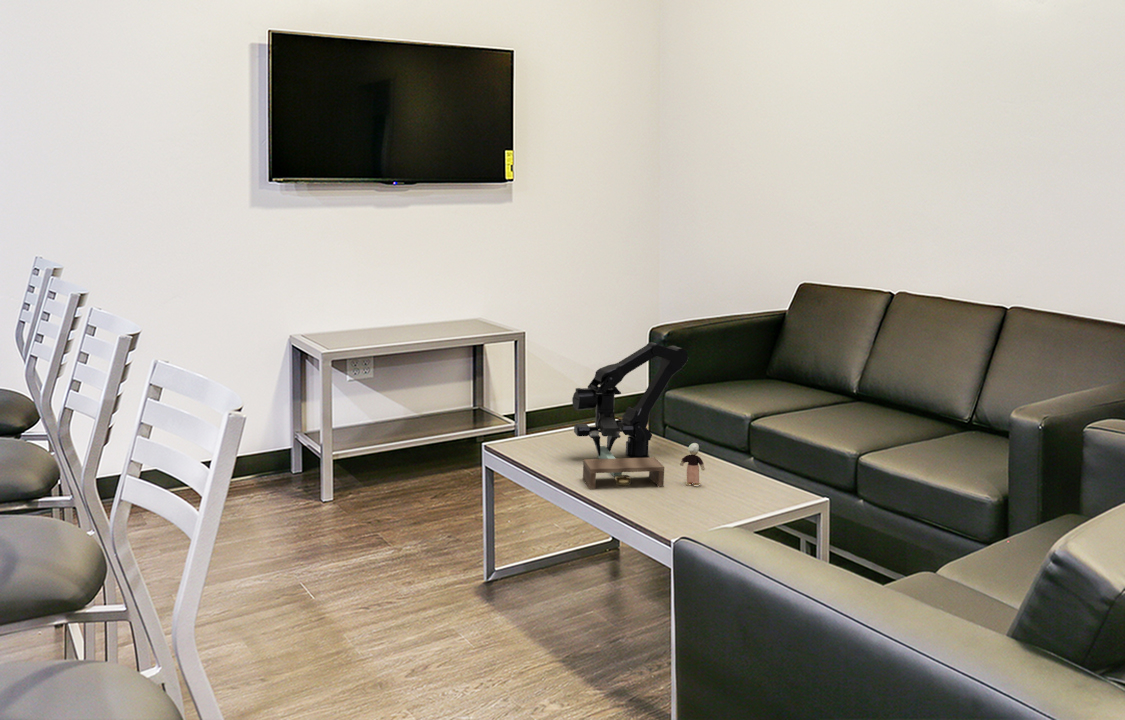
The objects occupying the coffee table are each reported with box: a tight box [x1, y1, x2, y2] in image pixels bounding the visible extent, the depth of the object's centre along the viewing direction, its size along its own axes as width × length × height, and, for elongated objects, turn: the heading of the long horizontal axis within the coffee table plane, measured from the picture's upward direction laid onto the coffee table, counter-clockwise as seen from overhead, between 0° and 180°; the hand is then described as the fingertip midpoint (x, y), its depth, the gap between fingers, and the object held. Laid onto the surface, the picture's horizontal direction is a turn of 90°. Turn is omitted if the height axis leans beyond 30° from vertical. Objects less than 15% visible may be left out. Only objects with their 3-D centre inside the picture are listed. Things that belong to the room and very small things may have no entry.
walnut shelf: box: [582, 456, 665, 490], centre depth 279 cm, size 22×10×6 cm, turn 101°
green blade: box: [597, 445, 623, 478], centre depth 296 cm, size 2×22×4 cm, turn 11°
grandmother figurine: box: [679, 442, 706, 485], centre depth 279 cm, size 8×4×13 cm, turn 71°
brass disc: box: [614, 474, 631, 486], centre depth 280 cm, size 4×4×2 cm
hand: (603, 455), depth 304 cm, fingers closed on green blade, 2 cm apart
